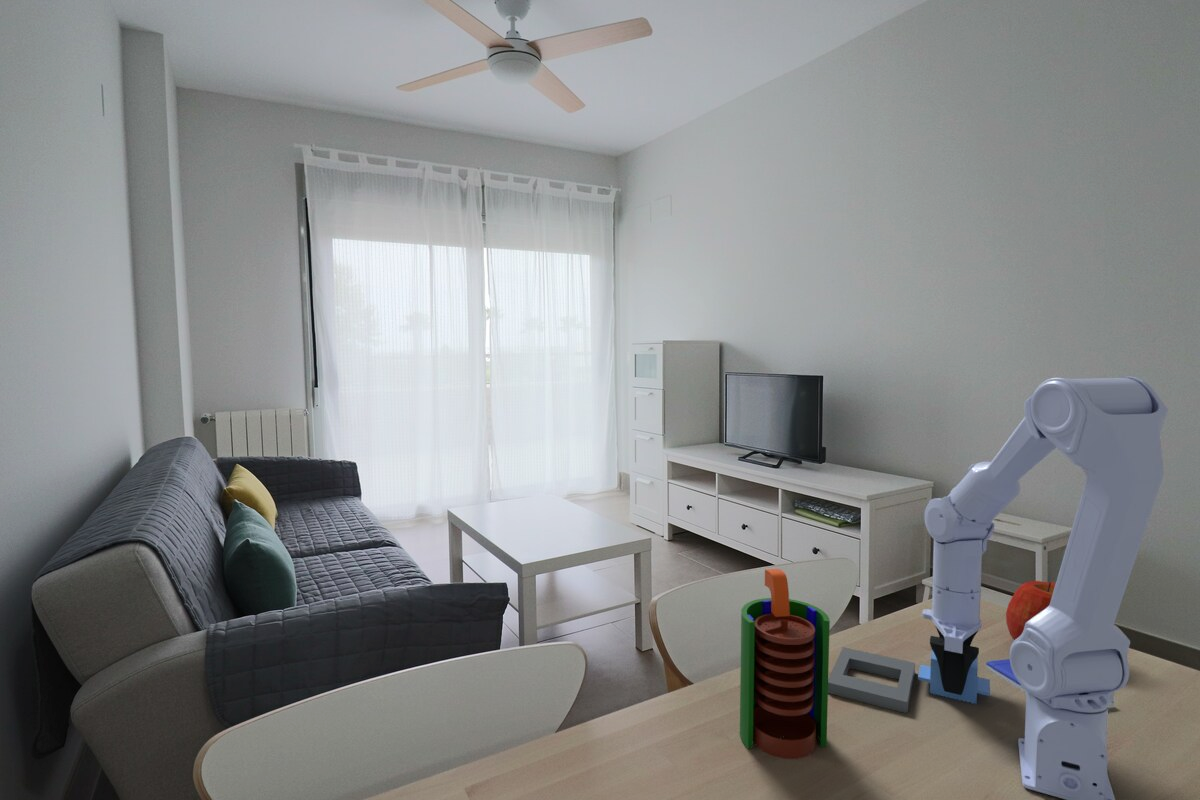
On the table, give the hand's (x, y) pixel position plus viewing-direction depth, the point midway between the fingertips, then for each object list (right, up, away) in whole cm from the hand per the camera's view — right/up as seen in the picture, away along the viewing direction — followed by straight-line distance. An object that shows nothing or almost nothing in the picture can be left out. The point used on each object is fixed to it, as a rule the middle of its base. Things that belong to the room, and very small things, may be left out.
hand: (953, 681), depth 86 cm
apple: (+22, -1, +13) cm, 25 cm away
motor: (-27, -3, -9) cm, 28 cm away
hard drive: (+14, -2, +1) cm, 14 cm away
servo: (0, -2, 0) cm, 2 cm away
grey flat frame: (-10, -1, +3) cm, 11 cm away
